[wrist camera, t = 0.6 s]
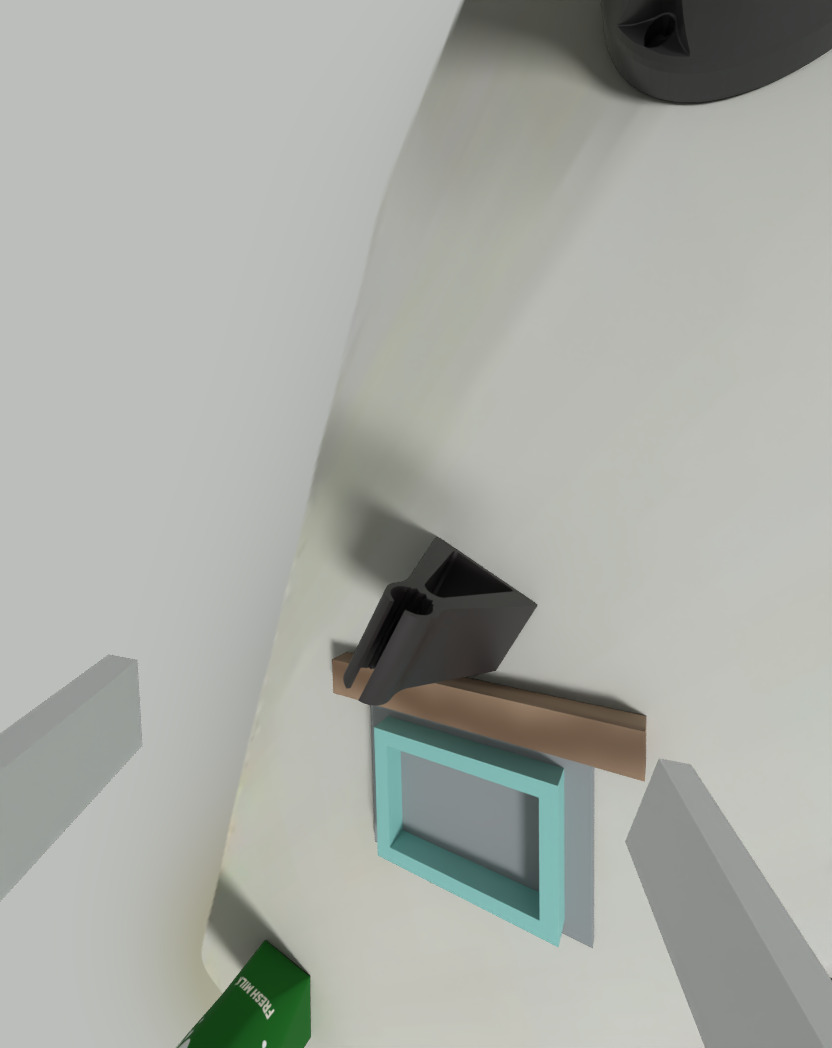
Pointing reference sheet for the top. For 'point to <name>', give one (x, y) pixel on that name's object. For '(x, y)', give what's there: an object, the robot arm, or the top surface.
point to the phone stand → (438, 626)
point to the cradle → (487, 822)
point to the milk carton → (258, 1007)
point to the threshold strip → (521, 719)
